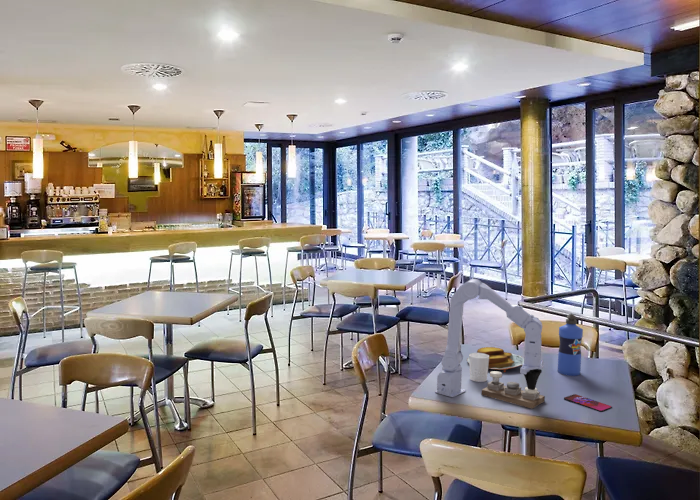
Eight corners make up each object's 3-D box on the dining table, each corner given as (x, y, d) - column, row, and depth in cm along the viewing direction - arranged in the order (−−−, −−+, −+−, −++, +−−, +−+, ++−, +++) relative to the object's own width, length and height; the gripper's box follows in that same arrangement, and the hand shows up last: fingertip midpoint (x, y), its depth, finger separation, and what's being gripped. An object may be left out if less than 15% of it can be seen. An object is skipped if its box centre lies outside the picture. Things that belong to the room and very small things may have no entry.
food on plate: (517, 377, 231) (518, 362, 230) (459, 368, 243) (459, 353, 242) (530, 361, 253) (531, 347, 252) (476, 354, 265) (477, 340, 264)
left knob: (498, 384, 207) (498, 375, 207) (487, 381, 210) (487, 373, 210) (503, 381, 210) (504, 373, 210) (493, 378, 213) (493, 370, 213)
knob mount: (532, 408, 196) (533, 393, 195) (481, 394, 209) (482, 380, 209) (544, 401, 203) (545, 386, 202) (494, 388, 216) (495, 374, 216)
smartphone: (601, 411, 193) (562, 397, 205) (600, 413, 193) (562, 400, 205) (613, 406, 197) (574, 393, 210) (613, 408, 197) (574, 396, 210)
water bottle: (585, 374, 234) (588, 315, 232) (568, 377, 231) (571, 317, 228) (569, 368, 243) (572, 311, 240) (552, 370, 239) (554, 313, 237)
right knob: (533, 400, 198) (534, 391, 198) (522, 397, 201) (522, 388, 201) (539, 397, 201) (539, 388, 201) (527, 394, 204) (528, 385, 204)
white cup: (466, 380, 225) (466, 356, 224) (471, 375, 232) (472, 351, 231) (485, 383, 222) (486, 359, 221) (490, 378, 228) (491, 354, 228)
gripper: (534, 358, 191) (532, 397, 193) (552, 350, 202) (550, 386, 203) (515, 354, 196) (513, 392, 198) (533, 346, 207) (532, 382, 208)
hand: (531, 389), depth 201 cm, fingers closed, pressing on right knob
